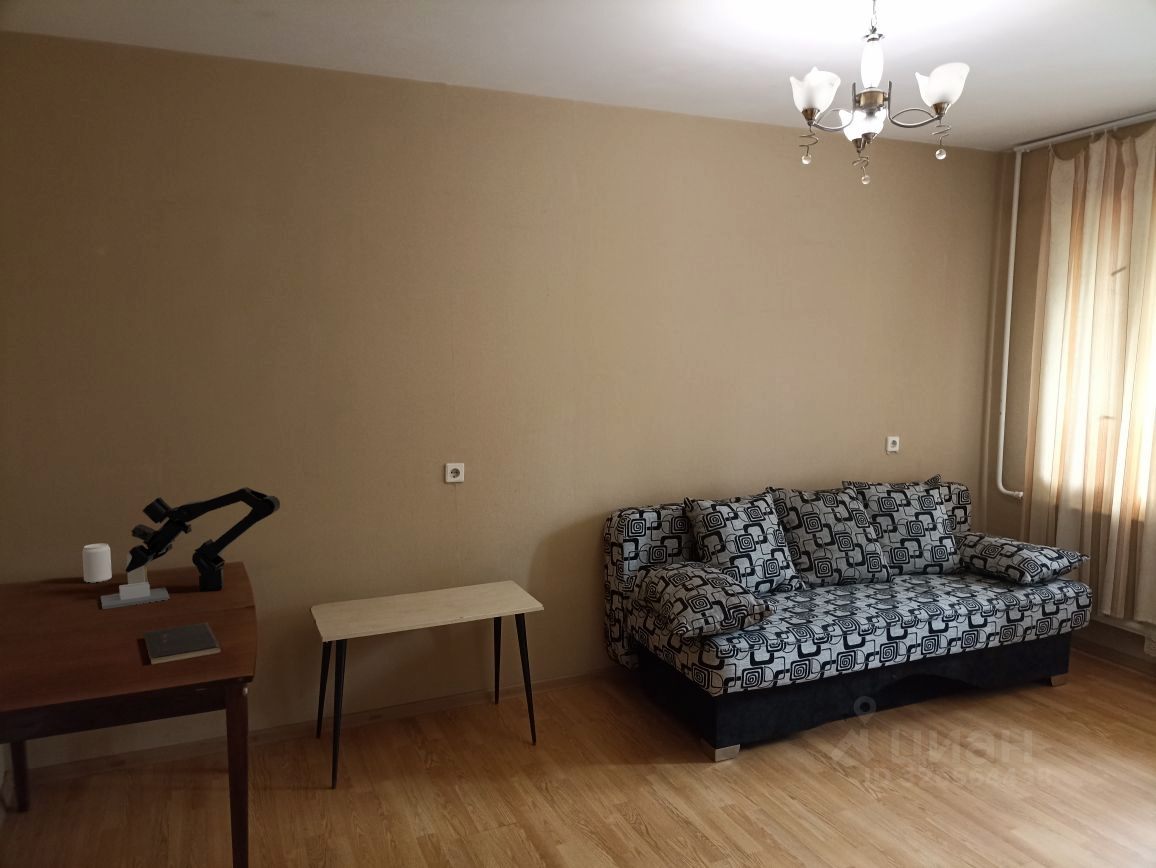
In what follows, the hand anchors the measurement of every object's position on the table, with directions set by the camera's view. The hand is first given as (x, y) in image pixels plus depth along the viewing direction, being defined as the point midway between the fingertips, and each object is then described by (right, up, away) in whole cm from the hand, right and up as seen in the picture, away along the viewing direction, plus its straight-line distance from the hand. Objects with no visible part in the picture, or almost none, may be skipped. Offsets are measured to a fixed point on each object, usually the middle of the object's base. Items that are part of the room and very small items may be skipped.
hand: (133, 568), depth 262 cm
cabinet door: (+1, -7, +1) cm, 8 cm away
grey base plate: (+6, -8, -10) cm, 14 cm away
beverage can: (-20, -7, +14) cm, 25 cm away
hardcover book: (+41, -12, -52) cm, 67 cm away
